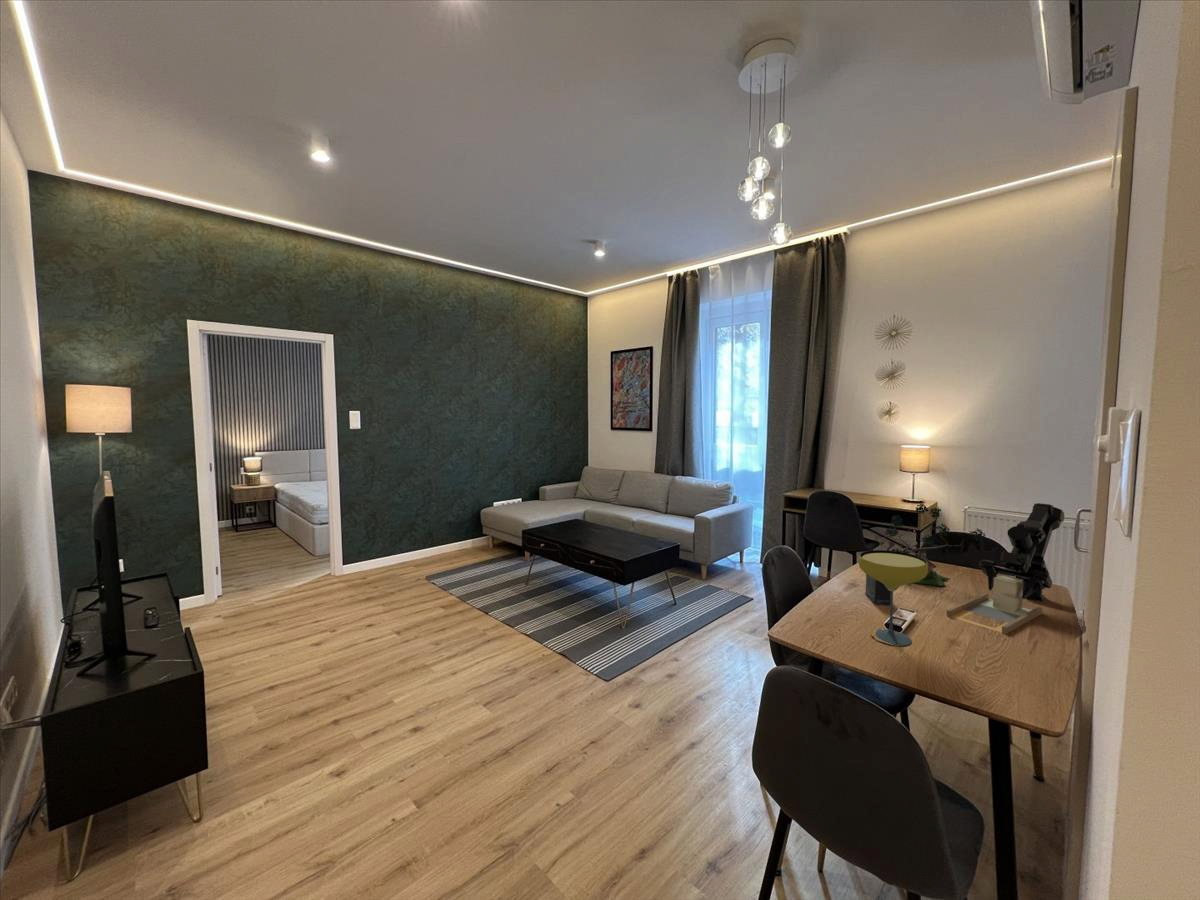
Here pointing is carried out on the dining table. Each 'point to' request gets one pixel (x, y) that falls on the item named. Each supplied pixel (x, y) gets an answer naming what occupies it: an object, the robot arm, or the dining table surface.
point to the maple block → (1007, 593)
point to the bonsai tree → (931, 574)
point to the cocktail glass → (893, 580)
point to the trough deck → (993, 613)
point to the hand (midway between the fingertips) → (1005, 593)
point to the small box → (877, 591)
